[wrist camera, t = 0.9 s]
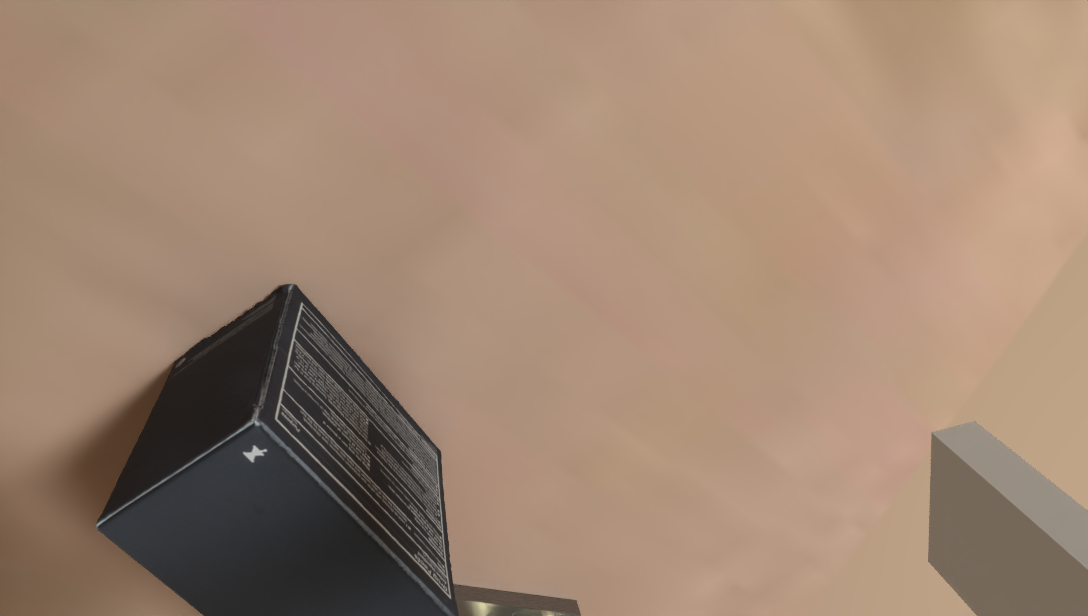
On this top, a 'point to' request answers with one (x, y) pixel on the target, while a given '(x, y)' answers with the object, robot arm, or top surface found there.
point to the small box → (285, 479)
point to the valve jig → (510, 603)
